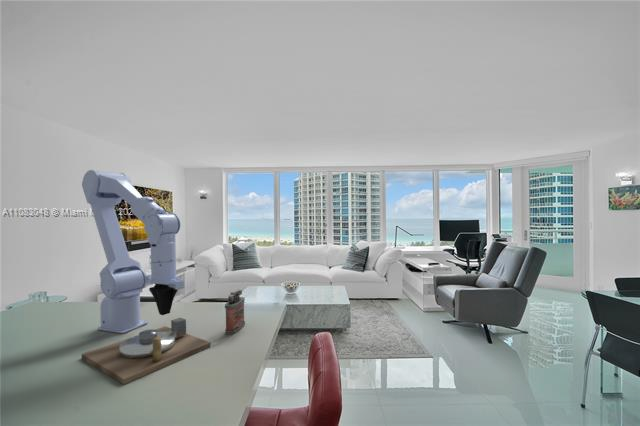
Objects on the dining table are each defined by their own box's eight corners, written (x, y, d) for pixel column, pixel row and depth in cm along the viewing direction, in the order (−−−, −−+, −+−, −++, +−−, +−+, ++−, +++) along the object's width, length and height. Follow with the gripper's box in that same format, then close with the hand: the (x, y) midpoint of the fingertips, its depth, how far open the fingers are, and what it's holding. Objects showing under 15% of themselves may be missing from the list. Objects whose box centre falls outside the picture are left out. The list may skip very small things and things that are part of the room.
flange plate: (110, 349, 70) (109, 332, 70) (170, 329, 82) (170, 314, 82) (135, 362, 64) (135, 344, 64) (196, 338, 76) (196, 322, 76)
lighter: (234, 335, 81) (233, 296, 81) (222, 334, 82) (221, 295, 81) (247, 323, 89) (247, 288, 89) (236, 323, 89) (236, 287, 89)
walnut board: (81, 358, 69) (81, 333, 69) (165, 329, 85) (164, 309, 85) (124, 384, 58) (123, 355, 58) (210, 346, 74) (210, 323, 74)
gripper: (132, 260, 81) (134, 313, 81) (164, 265, 73) (165, 324, 73) (159, 257, 87) (160, 306, 87) (191, 261, 79) (192, 315, 79)
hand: (164, 313), depth 81 cm, fingers closed
